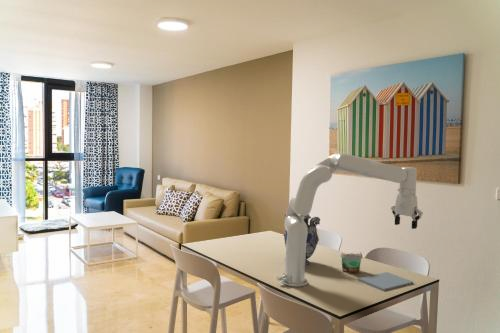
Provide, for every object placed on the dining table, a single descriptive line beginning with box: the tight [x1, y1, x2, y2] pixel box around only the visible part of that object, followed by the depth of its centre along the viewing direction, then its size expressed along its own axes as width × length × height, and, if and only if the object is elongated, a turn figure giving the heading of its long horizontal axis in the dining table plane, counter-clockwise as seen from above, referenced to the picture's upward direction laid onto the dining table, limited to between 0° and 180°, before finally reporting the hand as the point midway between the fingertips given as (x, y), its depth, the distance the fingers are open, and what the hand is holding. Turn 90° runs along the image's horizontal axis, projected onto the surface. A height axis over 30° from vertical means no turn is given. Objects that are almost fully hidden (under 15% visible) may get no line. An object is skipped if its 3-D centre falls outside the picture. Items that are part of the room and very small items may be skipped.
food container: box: [340, 251, 363, 275], centre depth 214 cm, size 12×6×10 cm, turn 105°
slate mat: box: [357, 271, 414, 292], centre depth 201 cm, size 22×16×1 cm
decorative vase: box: [283, 213, 321, 266], centre depth 228 cm, size 21×19×28 cm
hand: (405, 226), depth 198 cm, fingers open, 9 cm apart
